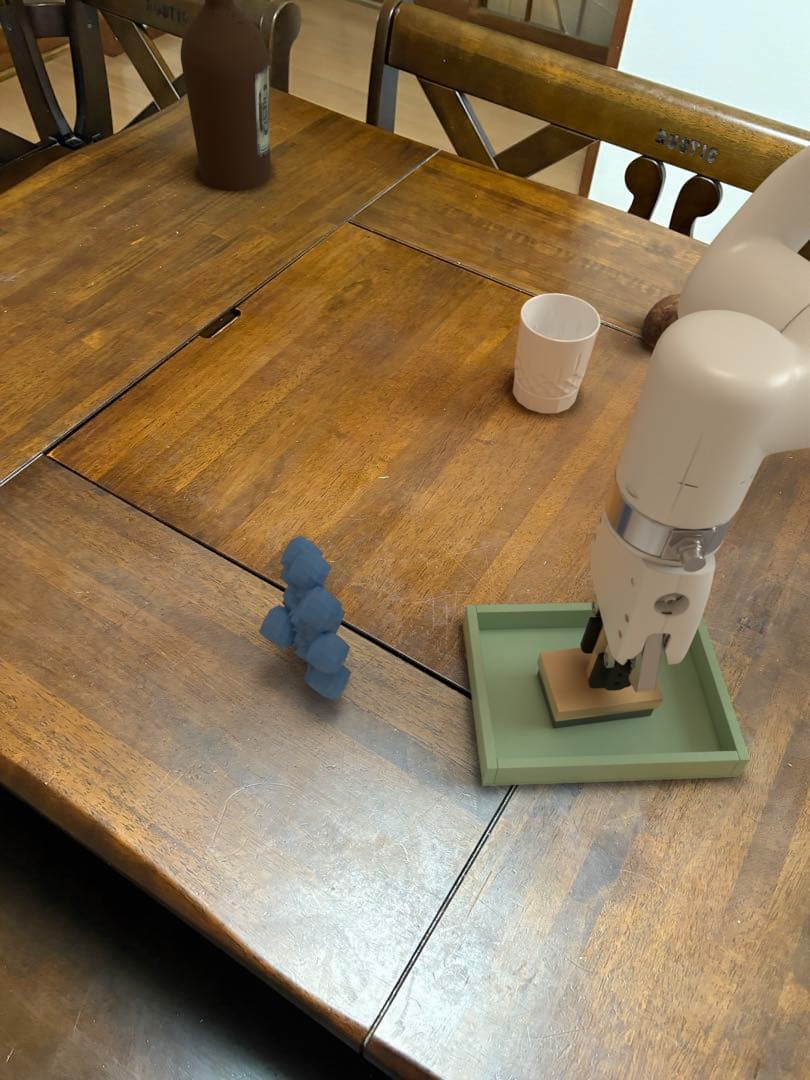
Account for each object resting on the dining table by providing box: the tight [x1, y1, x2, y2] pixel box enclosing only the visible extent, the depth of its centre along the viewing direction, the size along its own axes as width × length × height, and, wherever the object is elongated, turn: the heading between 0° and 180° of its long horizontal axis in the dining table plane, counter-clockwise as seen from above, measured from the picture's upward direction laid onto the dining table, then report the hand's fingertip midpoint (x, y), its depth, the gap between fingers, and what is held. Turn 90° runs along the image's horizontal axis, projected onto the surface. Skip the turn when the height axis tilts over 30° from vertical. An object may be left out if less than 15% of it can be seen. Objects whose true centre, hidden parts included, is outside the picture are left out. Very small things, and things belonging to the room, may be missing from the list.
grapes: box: [258, 535, 352, 701], centre depth 70 cm, size 12×7×12 cm, turn 18°
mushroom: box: [641, 293, 681, 349], centre depth 103 cm, size 8×8×6 cm
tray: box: [462, 601, 751, 787], centre depth 72 cm, size 20×15×3 cm
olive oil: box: [180, 0, 272, 192], centre depth 114 cm, size 11×11×25 cm
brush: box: [537, 625, 664, 728], centre depth 69 cm, size 8×5×10 cm, turn 100°
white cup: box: [512, 292, 601, 414], centre depth 94 cm, size 8×8×10 cm
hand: (604, 665), depth 70 cm, fingers closed on brush, 2 cm apart
